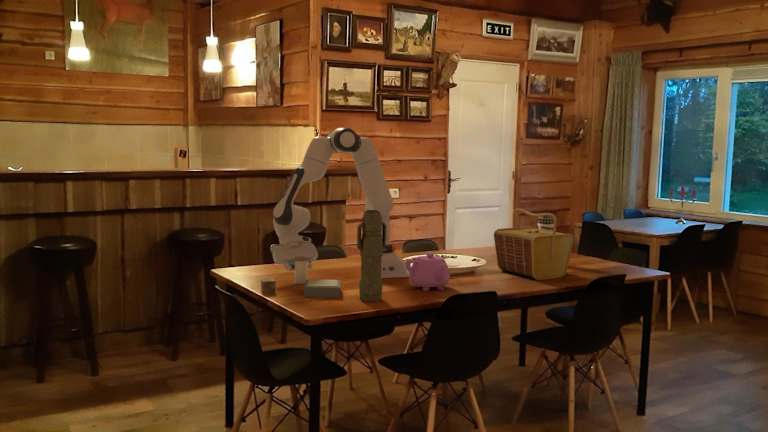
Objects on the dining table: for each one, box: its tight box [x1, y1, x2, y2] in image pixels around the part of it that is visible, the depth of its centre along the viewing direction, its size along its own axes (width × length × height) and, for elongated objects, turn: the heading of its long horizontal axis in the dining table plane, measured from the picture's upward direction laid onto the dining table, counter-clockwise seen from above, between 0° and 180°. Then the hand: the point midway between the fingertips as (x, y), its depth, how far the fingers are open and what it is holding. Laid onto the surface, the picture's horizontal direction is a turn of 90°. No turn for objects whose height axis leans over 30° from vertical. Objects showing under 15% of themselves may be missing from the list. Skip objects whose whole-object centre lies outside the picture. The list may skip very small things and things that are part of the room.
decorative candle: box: [536, 215, 554, 231], centre depth 369 cm, size 9×9×25 cm
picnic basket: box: [493, 208, 575, 281], centre depth 339 cm, size 29×26×30 cm
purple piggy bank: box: [405, 252, 451, 292], centre depth 303 cm, size 20×20×15 cm
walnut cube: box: [260, 278, 277, 295], centre depth 292 cm, size 5×5×5 cm
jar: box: [294, 257, 308, 285], centre depth 310 cm, size 5×5×11 cm
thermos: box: [356, 210, 386, 303], centre depth 281 cm, size 9×12×35 cm
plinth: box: [303, 279, 341, 299], centre depth 291 cm, size 14×14×4 cm
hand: (300, 269), depth 310 cm, fingers open, 8 cm apart
